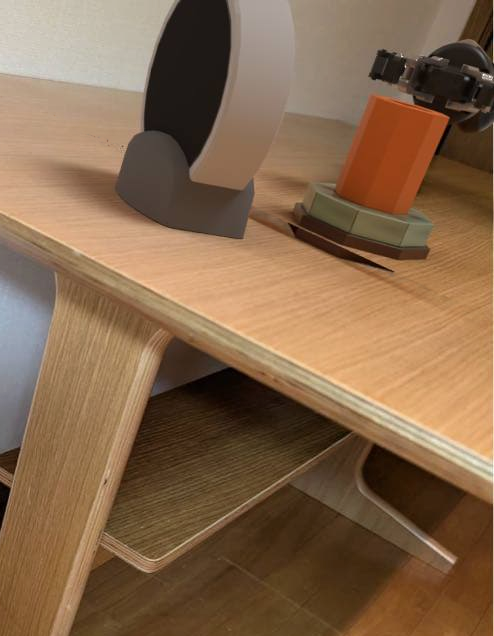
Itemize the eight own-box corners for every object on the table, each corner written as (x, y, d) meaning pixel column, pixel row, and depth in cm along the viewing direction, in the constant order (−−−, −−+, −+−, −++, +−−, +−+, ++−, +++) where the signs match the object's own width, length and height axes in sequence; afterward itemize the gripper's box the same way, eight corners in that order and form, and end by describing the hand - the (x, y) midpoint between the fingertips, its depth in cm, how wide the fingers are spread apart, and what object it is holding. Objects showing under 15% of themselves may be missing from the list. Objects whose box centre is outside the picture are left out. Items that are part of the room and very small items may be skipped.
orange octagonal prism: (360, 191, 77) (397, 99, 73) (417, 215, 74) (460, 119, 70) (322, 189, 73) (359, 91, 69) (380, 213, 70) (423, 112, 66)
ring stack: (337, 224, 83) (353, 183, 81) (439, 269, 76) (459, 226, 74) (265, 223, 75) (281, 178, 73) (371, 273, 69) (391, 225, 67)
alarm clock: (95, 174, 76) (148, -65, 65) (192, 191, 79) (256, -32, 69) (158, 231, 64) (236, -50, 53) (269, 249, 67) (361, -11, 57)
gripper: (502, 141, 89) (492, 148, 76) (377, 104, 92) (347, 104, 80) (539, 64, 84) (535, 57, 72) (406, 28, 88) (380, 15, 76)
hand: (436, 82), depth 76 cm, fingers open, 8 cm apart
